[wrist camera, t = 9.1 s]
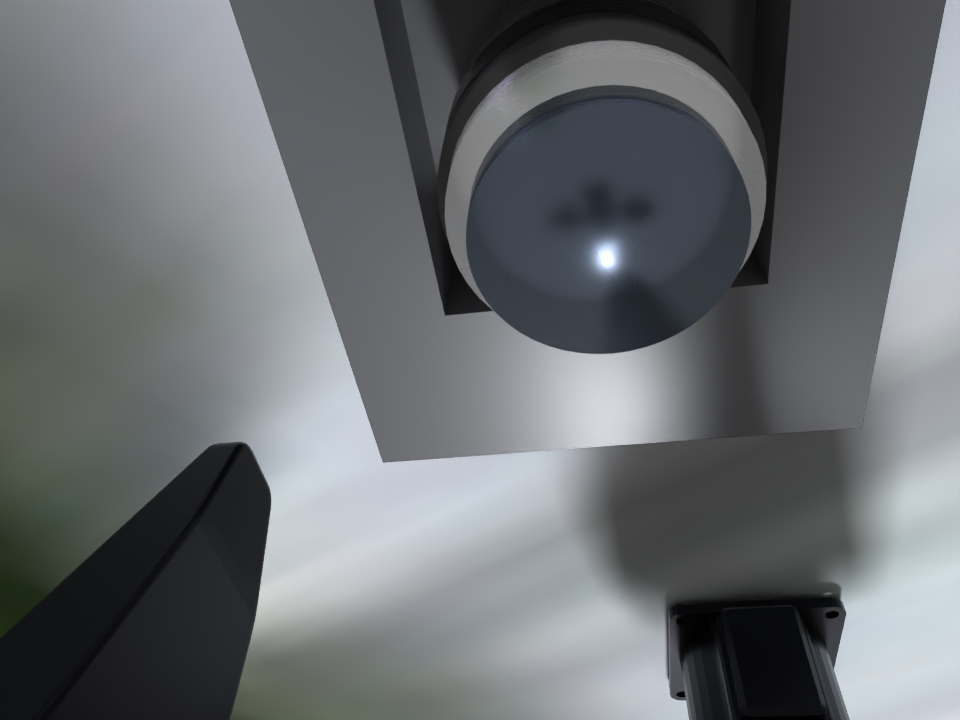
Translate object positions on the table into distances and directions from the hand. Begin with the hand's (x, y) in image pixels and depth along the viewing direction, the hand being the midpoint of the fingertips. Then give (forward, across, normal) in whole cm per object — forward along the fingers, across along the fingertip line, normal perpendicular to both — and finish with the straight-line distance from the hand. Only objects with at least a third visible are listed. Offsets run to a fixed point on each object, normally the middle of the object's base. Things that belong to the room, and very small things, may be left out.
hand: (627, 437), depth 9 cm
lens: (+10, 0, 0) cm, 10 cm away
